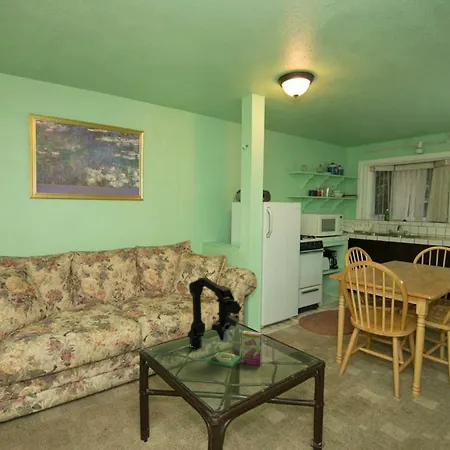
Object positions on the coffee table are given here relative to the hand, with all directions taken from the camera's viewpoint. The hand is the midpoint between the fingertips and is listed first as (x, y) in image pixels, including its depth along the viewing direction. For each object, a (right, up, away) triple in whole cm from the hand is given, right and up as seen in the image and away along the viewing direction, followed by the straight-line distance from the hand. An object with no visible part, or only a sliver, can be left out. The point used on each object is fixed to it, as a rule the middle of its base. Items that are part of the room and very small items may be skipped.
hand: (223, 339), depth 174 cm
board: (+1, -12, 0) cm, 12 cm away
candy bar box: (+15, -12, -2) cm, 20 cm away
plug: (0, -1, 0) cm, 1 cm away
